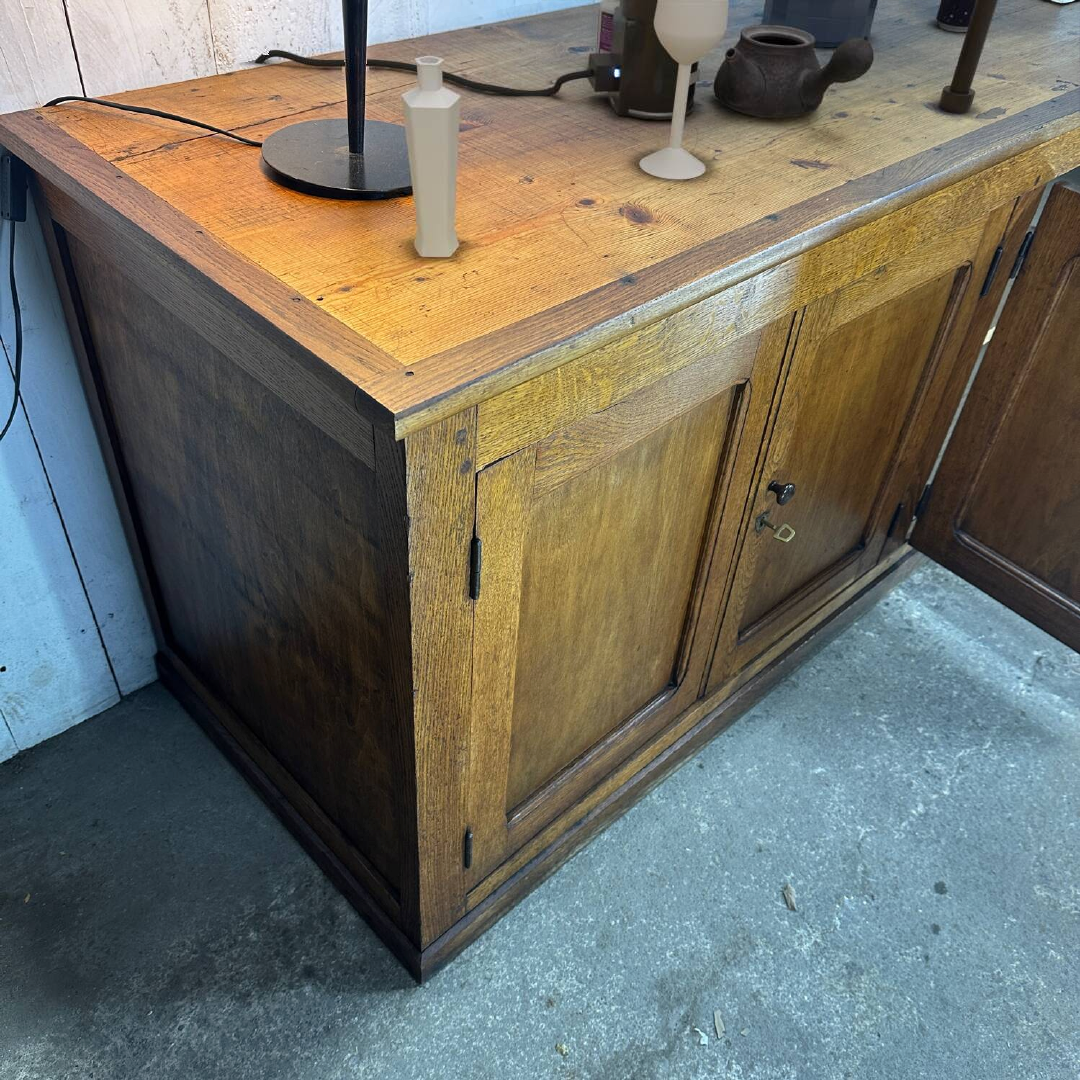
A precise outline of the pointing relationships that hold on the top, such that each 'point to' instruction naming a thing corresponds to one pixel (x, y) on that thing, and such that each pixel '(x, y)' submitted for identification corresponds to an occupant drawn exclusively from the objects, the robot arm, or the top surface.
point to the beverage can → (955, 14)
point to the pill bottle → (605, 25)
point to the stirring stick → (968, 60)
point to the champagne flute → (684, 72)
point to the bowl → (823, 18)
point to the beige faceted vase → (433, 157)
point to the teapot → (784, 71)
